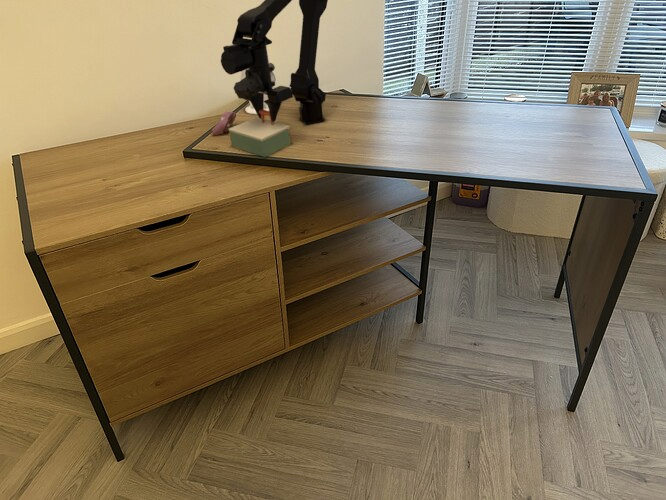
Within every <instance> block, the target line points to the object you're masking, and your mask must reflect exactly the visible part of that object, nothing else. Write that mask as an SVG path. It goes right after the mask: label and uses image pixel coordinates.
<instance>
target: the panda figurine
mask: <svg viewBox="0 0 666 500" xmlns="http://www.w3.org/2000/svg"><path fill="white" fill-rule="evenodd" d="M269 66H271V67H273V71H270V74H271V81H273V82H275V83H276V80H277V79H276V76H275V73H274V71H275V69H276V66H275V64H274V63H272V62H269ZM248 69H249V68H248ZM246 70H247V69H246ZM246 70H243V71H240V72H241V73H240V72H239V73H240V81H241V80H242V79H244V78H245V77H246V75H245V72H246ZM273 88H275V86H273V87H272V89H273ZM265 100H268V95H266V94H264V101H265ZM248 101H249V100H248ZM244 110H245V113H247V114H249V115H257V113H256V111H255V109H254V107H253V105H252V103H251V102H250V101H249V105H248V106H246V107H245V109H244ZM263 110H266V111H269V108H268V105H267V104H266V103H265V102H264V108H263Z"/></svg>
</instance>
